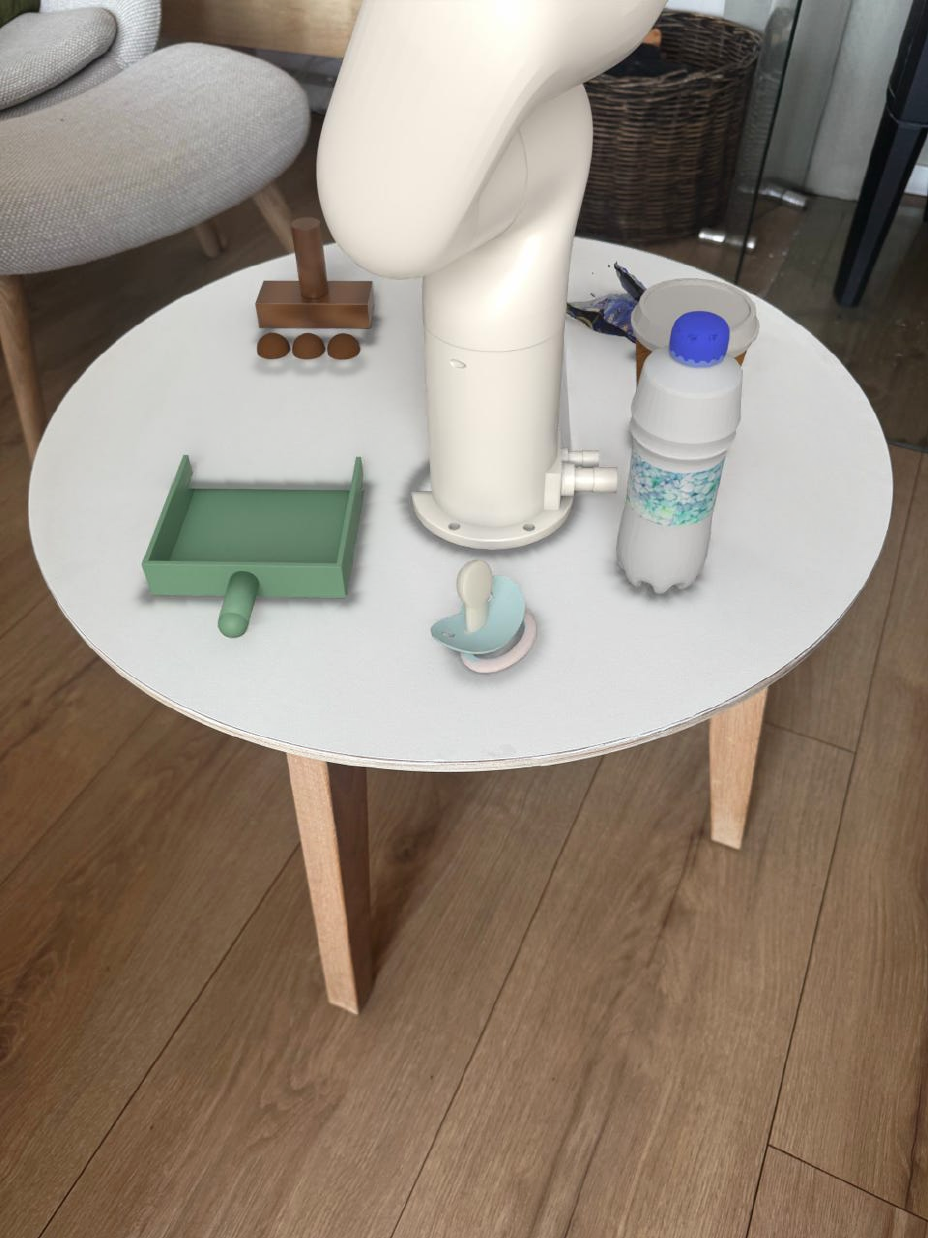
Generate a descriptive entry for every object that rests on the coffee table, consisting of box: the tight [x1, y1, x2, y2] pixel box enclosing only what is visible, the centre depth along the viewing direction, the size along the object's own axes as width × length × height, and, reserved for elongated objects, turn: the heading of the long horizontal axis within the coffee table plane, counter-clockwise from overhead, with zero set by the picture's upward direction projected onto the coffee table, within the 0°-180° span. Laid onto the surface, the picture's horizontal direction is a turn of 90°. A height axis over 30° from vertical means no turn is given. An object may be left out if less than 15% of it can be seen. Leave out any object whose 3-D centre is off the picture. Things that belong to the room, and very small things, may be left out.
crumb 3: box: [326, 332, 361, 361], centre depth 90 cm, size 3×3×3 cm
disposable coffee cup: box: [631, 277, 761, 390], centre depth 78 cm, size 10×10×12 cm
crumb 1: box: [256, 332, 291, 360], centre depth 90 cm, size 3×3×3 cm
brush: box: [254, 216, 375, 329], centre depth 91 cm, size 10×4×10 cm, turn 88°
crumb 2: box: [291, 332, 326, 360], centre depth 90 cm, size 3×3×3 cm
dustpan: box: [141, 454, 365, 639], centre depth 71 cm, size 17×14×3 cm
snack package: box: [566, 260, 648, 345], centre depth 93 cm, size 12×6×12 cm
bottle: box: [615, 311, 744, 595], centre depth 64 cm, size 7×7×20 cm
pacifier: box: [430, 559, 538, 674], centre depth 64 cm, size 7×6×6 cm
